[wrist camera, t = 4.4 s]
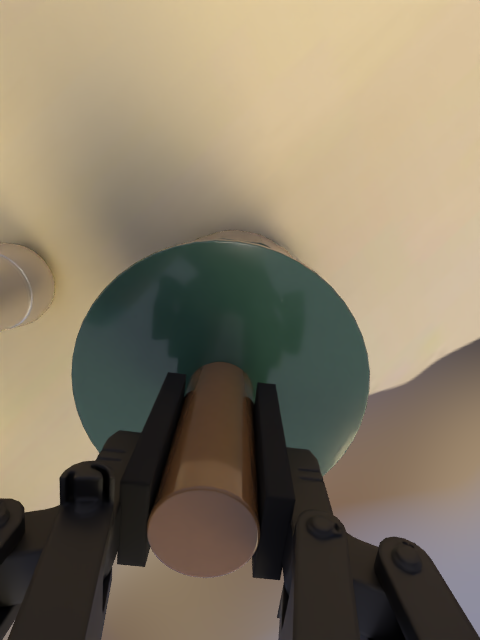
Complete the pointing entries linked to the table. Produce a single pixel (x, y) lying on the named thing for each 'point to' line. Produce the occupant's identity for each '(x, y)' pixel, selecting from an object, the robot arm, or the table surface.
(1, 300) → the silver metal flask
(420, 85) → the table surface
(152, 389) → the crock lid
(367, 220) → the table surface
